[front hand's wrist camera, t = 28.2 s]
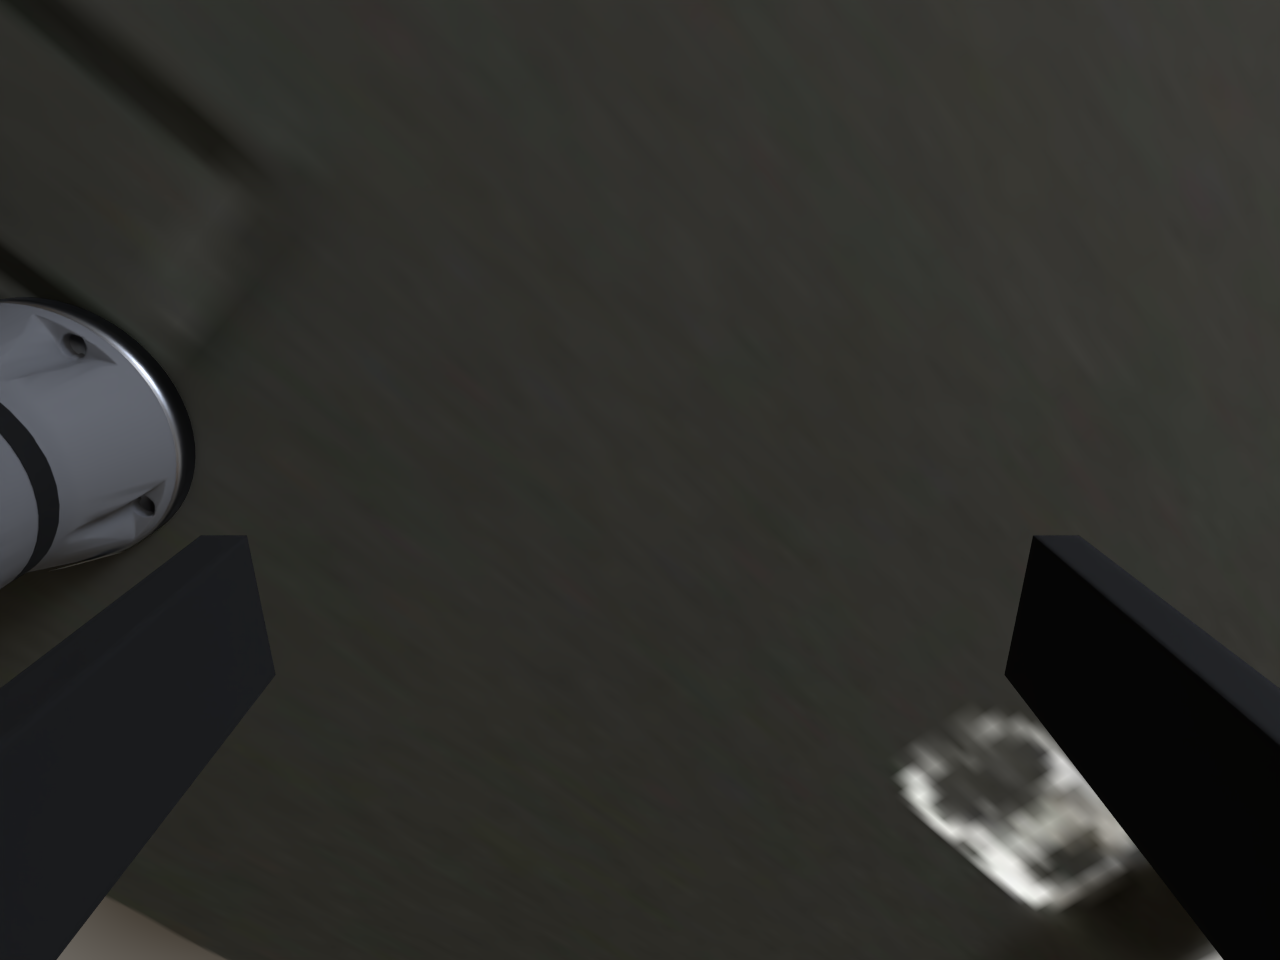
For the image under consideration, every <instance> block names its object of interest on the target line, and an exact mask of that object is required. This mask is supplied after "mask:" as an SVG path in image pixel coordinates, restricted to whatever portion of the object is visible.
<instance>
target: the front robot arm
mask: <svg viewBox="0 0 1280 960" xmlns="http://www.w3.org/2000/svg"><path fill="white" fill-rule="evenodd" d="M194 467H195V443H194V436H193V431H192V427H191V422H190V419H189V416H188V413H187V411H186V408H185V406H184V403H183V401H182V399H181V397H180V395H179V393H178V391H177V390H176V388H175V386H174V384H173V383H172V381H171V380H170V378H169V377H168V375H167V374H166V372H165V371H164V370H163V369H162V367H161V366H160V365H159V364H158V362H157V361H156V360H155V359H154V358H153V357H152V356H151V355H150V354H149V353H148V352H147V351H146V350H145V349H144V348H143V347H142V346H141V345H140V344H139V343H138V342H137V341H135V340H134V339H133V338H132V337H130V336H129V335H128V334H127V333H125V332H124V331H123V330H121V329H120V328H118V327H117V326H115V325H114V324H112V323H110V322H109V321H107V320H105V319H103V318H101V317H100V316H98V315H95V314H93V313H91V312H89V311H87V310H84V309H82V308H79V307H76V306H73V305H71V304H67V303H63V302H59V301H55V300H49V299H44V298H32V297H18V298H8V299H0V589H1V588H2V587H4V586H5V585H7V584H9V583H10V582H12V581H14V580H15V579H17V578H18V577H20V576H22V575H24V574H25V573H27V572H32V571H36V570H41V569H46V568H51V567H56V566H60V565H65V564H70V563H75V562H80V561H84V560H88V561H85V562H89V561H92V560H96V559H100V558H103V557H107V556H111V555H114V554H115V553H116V554H118V552H120V553H122V552H121V551H123V550H125V549H128V548H130V547H131V546H133V545H135V544H137V543H138V542H140V541H141V540H143V539H144V538H146V537H147V536H149V535H150V534H152V533H153V532H154V531H156V530H157V529H159V528H160V527H161V526H163V525H164V524H165V523H166V522H167V521H168V520H169V519H170V518H171V517H173V515H174V514H175V513H176V512H177V510H178V509H179V508H180V506H181V504H182V503H183V501H184V500H185V497H186V495H187V493H188V491H189V488H190V485H191V482H192V478H193V473H194ZM94 558H96V559H94ZM89 559H92V560H89ZM85 562H81V563H85ZM81 563H77V564H74V565H78V564H81ZM74 565H70V566H74ZM70 566H66V567H63V568H67V567H70ZM59 569H62V568H59ZM55 570H57V569H55ZM51 571H53V570H51ZM274 676H275V670H274V665H273V660H272V656H271V651H270V646H269V641H268V636H267V631H266V626H265V622H264V617H263V612H262V607H261V602H260V597H259V592H258V588H257V583H256V578H255V573H254V568H253V563H252V559H251V554H250V549H249V544H248V539H247V536H200V537H198V538H197V539H196V540H194V541H193V542H192V543H190V544H189V545H188V546H187V547H185V548H184V549H183V550H181V551H180V552H179V553H177V554H176V555H175V556H173V557H172V558H171V559H169V560H168V561H167V562H166V563H164V564H163V565H162V566H160V567H159V568H158V569H156V570H155V571H154V572H152V573H151V574H150V575H148V576H147V577H146V578H145V579H143V580H142V581H141V582H139V583H138V584H137V585H135V586H134V587H133V588H131V589H130V590H129V591H127V592H126V593H125V594H124V595H122V596H121V597H120V598H118V599H117V600H116V601H114V602H113V603H112V604H110V605H109V606H108V607H107V608H105V609H104V610H103V611H101V612H100V613H99V614H97V615H96V616H95V617H93V618H92V619H91V620H89V621H88V622H87V623H86V624H84V625H83V626H82V627H80V628H79V629H78V630H76V631H75V632H74V633H72V634H71V635H70V636H68V637H67V638H66V639H65V640H63V641H62V642H61V643H59V644H58V645H57V646H55V647H54V648H53V649H51V650H50V651H49V652H47V653H46V654H45V655H44V656H42V657H41V658H40V659H38V660H37V661H36V662H34V663H33V664H32V665H30V666H29V667H28V668H26V669H25V670H24V671H23V672H21V673H20V674H19V675H17V676H16V677H15V678H13V679H12V680H11V681H9V682H8V683H7V684H6V685H4V686H3V687H2V688H0V960H56V959H57V958H58V957H59V956H60V954H61V953H62V952H63V950H64V949H65V948H66V947H67V945H68V944H69V943H70V941H71V940H72V939H73V937H74V936H75V935H76V933H77V932H78V931H79V930H80V928H81V927H82V926H83V924H84V923H85V922H86V921H87V919H88V918H89V917H90V915H91V914H92V913H93V911H94V910H95V909H96V907H97V906H98V905H99V904H100V902H101V901H102V900H103V898H104V897H105V896H106V895H107V893H108V892H109V891H110V889H111V888H112V887H113V885H114V884H115V883H116V882H117V880H118V879H119V878H120V876H121V875H122V874H123V872H124V871H125V870H126V869H127V867H128V866H129V865H130V863H131V862H132V861H133V859H134V858H135V857H136V855H137V854H138V853H139V852H140V850H141V849H142V848H143V846H144V845H145V844H146V842H147V841H148V840H149V839H150V837H151V836H152V835H153V833H154V832H155V831H156V829H157V828H158V827H159V826H160V824H161V823H162V822H163V820H164V819H165V818H166V816H167V815H168V814H169V813H170V811H171V810H172V809H173V807H174V806H175V805H176V803H177V802H178V801H179V800H180V798H181V797H182V796H183V794H184V793H185V792H186V790H187V789H188V788H189V787H190V785H191V784H192V783H193V781H194V780H195V779H196V777H197V776H198V775H199V774H200V772H201V771H202V770H203V768H204V767H205V766H206V764H207V763H208V762H209V761H210V759H211V758H212V757H213V755H214V754H215V753H216V751H217V750H218V749H219V748H220V746H221V745H222V744H223V742H224V741H225V740H226V738H227V737H228V736H229V735H230V733H231V732H232V731H233V729H234V728H235V727H236V725H237V724H238V723H239V722H240V720H241V719H242V718H243V716H244V715H245V714H246V712H247V711H248V710H249V709H250V707H251V706H252V705H253V703H254V702H255V701H256V699H257V698H258V697H259V696H260V694H261V693H262V692H263V690H264V689H265V688H266V686H267V685H268V684H269V683H270V681H271V680H272V679H273V677H274ZM1005 676H1006V677H1007V679H1008V680H1009V681H1010V683H1011V684H1012V685H1013V686H1014V688H1015V689H1016V690H1017V692H1018V693H1019V694H1020V696H1021V697H1022V698H1023V699H1024V701H1025V702H1026V703H1027V705H1028V706H1029V707H1030V709H1031V710H1032V711H1033V712H1034V714H1035V715H1036V716H1037V718H1038V719H1039V720H1040V722H1041V723H1042V724H1043V725H1044V727H1045V728H1046V729H1047V731H1048V732H1049V733H1050V735H1051V736H1052V737H1053V738H1054V740H1055V741H1056V742H1057V744H1058V745H1059V746H1060V748H1061V749H1062V750H1063V751H1064V753H1065V754H1066V755H1067V757H1068V758H1069V759H1070V761H1071V762H1072V763H1073V764H1074V766H1075V767H1076V768H1077V770H1078V771H1079V772H1080V774H1081V775H1082V776H1083V777H1084V779H1085V780H1086V781H1087V783H1088V784H1089V785H1090V787H1091V788H1092V789H1093V790H1094V792H1095V793H1096V794H1097V796H1098V797H1099V798H1100V800H1101V801H1102V802H1103V803H1104V805H1105V806H1106V807H1107V809H1108V810H1109V811H1110V813H1111V814H1112V815H1113V816H1114V818H1115V819H1116V820H1117V822H1118V823H1119V824H1120V826H1121V827H1122V828H1123V829H1124V831H1125V832H1126V833H1127V835H1128V836H1129V837H1130V839H1131V840H1132V841H1133V842H1134V844H1135V845H1136V846H1137V848H1138V849H1139V850H1140V852H1141V853H1142V854H1143V855H1144V857H1145V858H1146V859H1147V861H1148V862H1149V863H1150V865H1151V866H1152V867H1153V869H1154V870H1155V871H1156V872H1157V874H1158V875H1159V876H1160V878H1161V879H1162V880H1163V882H1164V883H1165V884H1166V885H1167V887H1168V888H1169V889H1170V891H1171V892H1172V893H1173V895H1174V896H1175V897H1176V898H1177V900H1178V901H1179V902H1180V904H1181V905H1182V906H1183V908H1184V909H1185V910H1186V911H1187V913H1188V914H1189V915H1190V917H1191V918H1192V919H1193V921H1194V922H1195V923H1196V924H1197V926H1198V927H1199V928H1200V930H1201V931H1202V932H1203V934H1204V935H1205V936H1206V937H1207V939H1208V940H1209V941H1210V943H1211V944H1212V945H1213V947H1214V948H1215V949H1216V950H1217V952H1218V953H1219V954H1220V956H1221V957H1222V958H1223V960H1280V688H1278V687H1277V686H1276V685H1274V684H1273V683H1272V682H1271V681H1269V680H1268V679H1267V678H1265V677H1264V676H1263V675H1261V674H1260V673H1259V672H1257V671H1256V670H1255V669H1254V668H1252V667H1251V666H1250V665H1248V664H1247V663H1246V662H1244V661H1243V660H1242V659H1240V658H1239V657H1238V656H1236V655H1235V654H1234V653H1233V652H1231V651H1230V650H1229V649H1227V648H1226V647H1225V646H1223V645H1222V644H1221V643H1219V642H1218V641H1217V640H1215V639H1214V638H1213V637H1212V636H1210V635H1209V634H1208V633H1206V632H1205V631H1204V630H1202V629H1201V628H1200V627H1198V626H1197V625H1196V624H1194V623H1193V622H1192V621H1191V620H1189V619H1188V618H1187V617H1185V616H1184V615H1183V614H1181V613H1180V612H1179V611H1177V610H1176V609H1175V608H1173V607H1172V606H1171V605H1170V604H1168V603H1167V602H1166V601H1164V600H1163V599H1162V598H1160V597H1159V596H1158V595H1156V594H1155V593H1154V592H1153V591H1151V590H1150V589H1149V588H1147V587H1146V586H1145V585H1143V584H1142V583H1141V582H1139V581H1138V580H1137V579H1135V578H1134V577H1133V576H1132V575H1130V574H1129V573H1128V572H1126V571H1125V570H1124V569H1122V568H1121V567H1120V566H1118V565H1117V564H1116V563H1114V562H1113V561H1112V560H1111V559H1109V558H1108V557H1107V556H1105V555H1104V554H1103V553H1101V552H1100V551H1099V550H1097V549H1096V548H1095V547H1093V546H1092V545H1091V544H1090V543H1088V542H1087V541H1086V540H1084V539H1083V538H1082V537H1080V536H1033V539H1032V544H1031V549H1030V554H1029V559H1028V563H1027V568H1026V573H1025V578H1024V583H1023V588H1022V592H1021V597H1020V602H1019V607H1018V612H1017V617H1016V622H1015V626H1014V631H1013V636H1012V641H1011V646H1010V651H1009V656H1008V660H1007V665H1006V670H1005Z"/></svg>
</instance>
